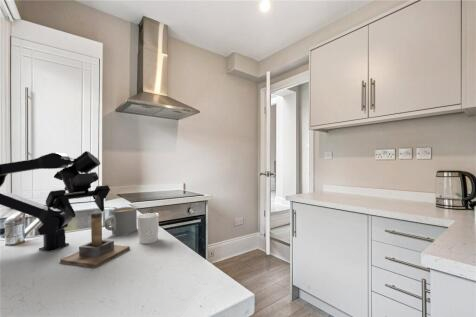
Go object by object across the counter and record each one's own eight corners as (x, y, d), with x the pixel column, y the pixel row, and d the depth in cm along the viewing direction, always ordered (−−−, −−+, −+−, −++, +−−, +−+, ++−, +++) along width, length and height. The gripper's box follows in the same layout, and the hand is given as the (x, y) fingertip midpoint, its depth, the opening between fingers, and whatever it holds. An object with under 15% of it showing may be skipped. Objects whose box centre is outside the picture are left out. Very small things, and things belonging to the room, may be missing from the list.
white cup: (151, 245, 84) (151, 218, 84) (133, 243, 85) (132, 217, 85) (162, 237, 92) (162, 213, 92) (145, 236, 93) (145, 212, 93)
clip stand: (59, 262, 70) (59, 250, 70) (98, 245, 84) (98, 235, 84) (95, 267, 66) (95, 254, 67) (129, 249, 80) (129, 238, 80)
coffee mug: (131, 226, 108) (131, 205, 108) (140, 231, 101) (140, 208, 101) (100, 233, 98) (99, 210, 98) (107, 239, 91) (107, 214, 91)
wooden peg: (89, 254, 74) (88, 214, 74) (97, 250, 77) (96, 212, 77) (96, 254, 73) (96, 215, 73) (104, 251, 76) (103, 213, 76)
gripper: (48, 166, 72) (65, 203, 67) (107, 164, 88) (124, 194, 83) (39, 189, 76) (54, 226, 71) (96, 183, 92) (112, 213, 87)
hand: (89, 213), depth 78 cm, fingers open, 9 cm apart
